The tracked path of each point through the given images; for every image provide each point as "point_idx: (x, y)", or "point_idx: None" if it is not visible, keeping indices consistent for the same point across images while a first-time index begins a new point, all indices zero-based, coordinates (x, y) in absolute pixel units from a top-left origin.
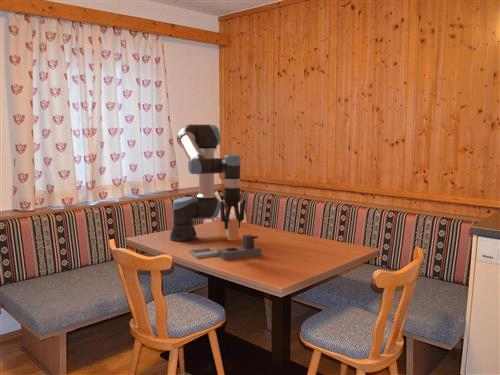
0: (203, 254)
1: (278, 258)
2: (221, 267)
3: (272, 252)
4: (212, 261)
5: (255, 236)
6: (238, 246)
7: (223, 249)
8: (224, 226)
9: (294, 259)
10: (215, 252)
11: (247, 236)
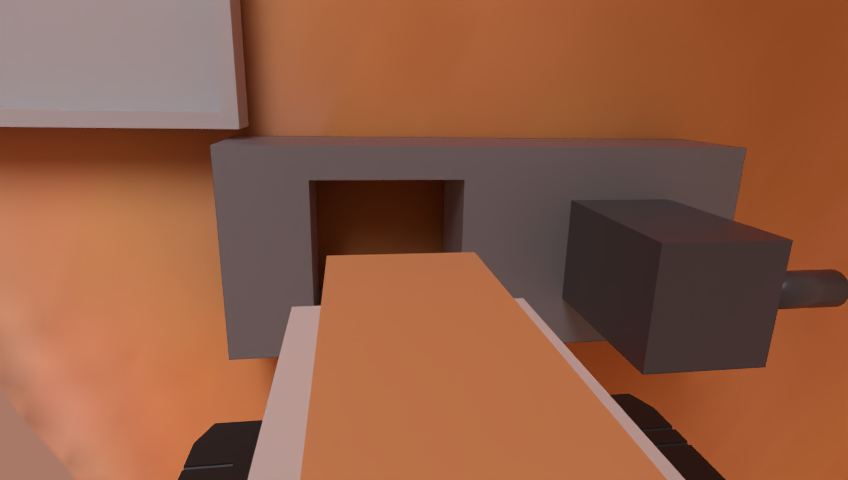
0: (9, 118)
1: (740, 404)
2: (154, 465)
3: (828, 217)
4: (126, 256)
5: (806, 305)
6: (534, 148)
7: (283, 200)
8: (181, 472)
9: (817, 469)
10: (220, 67)
11: (670, 348)
